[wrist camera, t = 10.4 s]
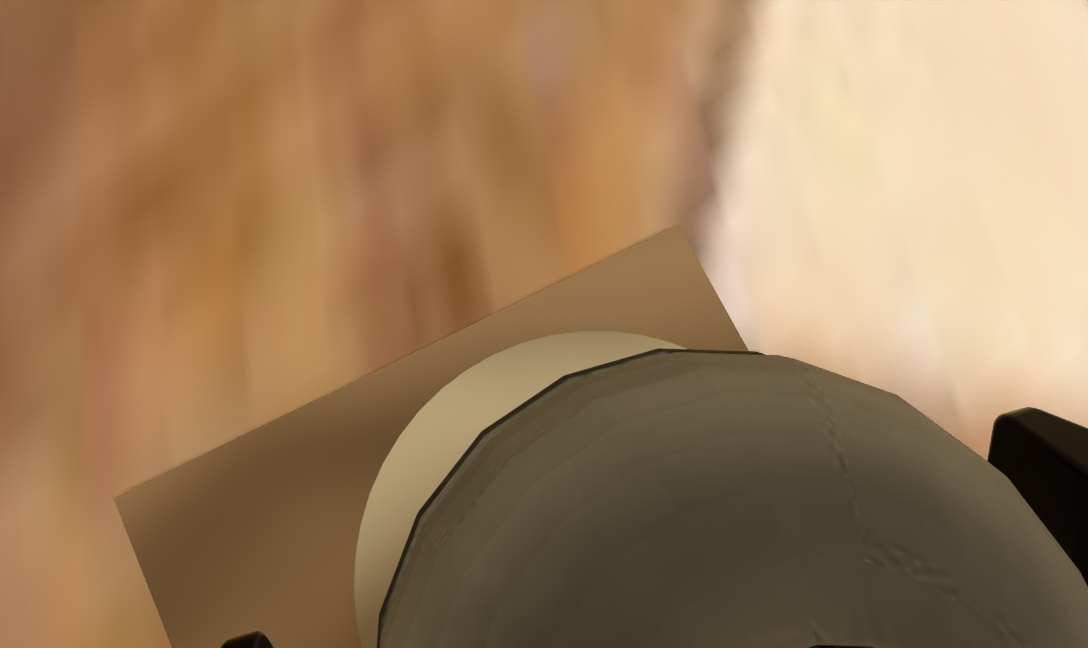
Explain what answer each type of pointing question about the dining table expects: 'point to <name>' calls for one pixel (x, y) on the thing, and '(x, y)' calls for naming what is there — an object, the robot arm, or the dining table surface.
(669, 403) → the beverage cup
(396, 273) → the dining table surface
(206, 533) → the walnut board
